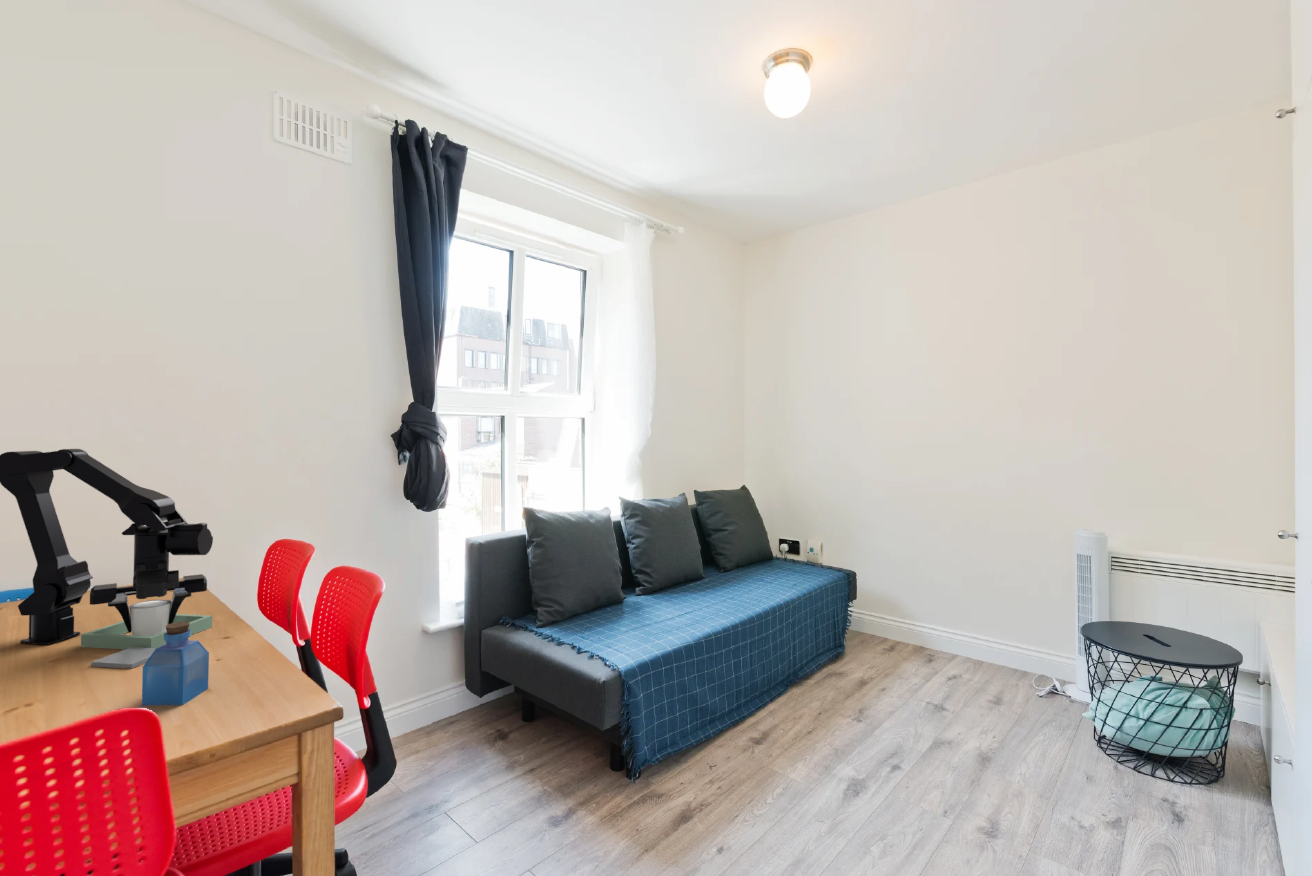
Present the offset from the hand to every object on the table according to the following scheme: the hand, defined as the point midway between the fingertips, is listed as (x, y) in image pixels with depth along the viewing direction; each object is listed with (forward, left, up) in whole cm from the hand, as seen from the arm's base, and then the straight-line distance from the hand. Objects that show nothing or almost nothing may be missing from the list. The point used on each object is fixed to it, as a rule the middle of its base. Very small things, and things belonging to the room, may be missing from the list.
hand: (150, 629), depth 127 cm
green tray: (0, 0, -2) cm, 2 cm away
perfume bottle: (+29, -25, -2) cm, 39 cm away
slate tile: (+8, -12, -2) cm, 14 cm away
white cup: (0, 0, -2) cm, 2 cm away
